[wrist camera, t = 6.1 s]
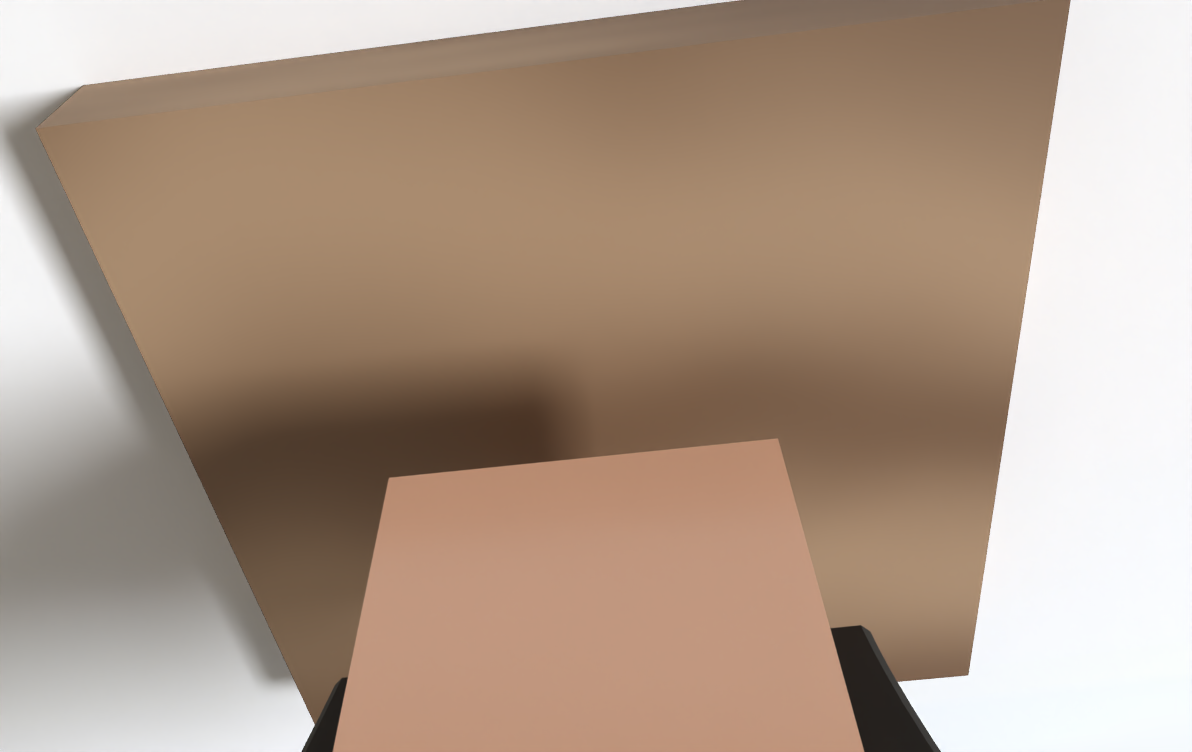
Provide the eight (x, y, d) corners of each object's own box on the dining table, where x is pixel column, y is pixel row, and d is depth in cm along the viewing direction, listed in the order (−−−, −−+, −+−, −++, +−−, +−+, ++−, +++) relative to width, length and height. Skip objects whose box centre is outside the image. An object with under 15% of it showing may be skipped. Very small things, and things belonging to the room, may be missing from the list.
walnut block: (935, 591, 20) (967, 675, 18) (339, 648, 21) (320, 734, 19) (1007, -47, 13) (1070, -2, 11) (99, 70, 14) (34, 128, 12)
